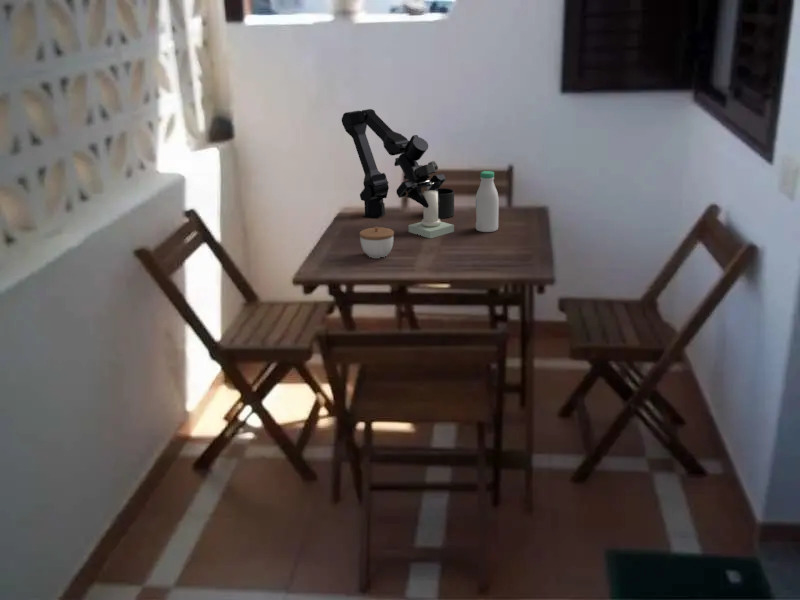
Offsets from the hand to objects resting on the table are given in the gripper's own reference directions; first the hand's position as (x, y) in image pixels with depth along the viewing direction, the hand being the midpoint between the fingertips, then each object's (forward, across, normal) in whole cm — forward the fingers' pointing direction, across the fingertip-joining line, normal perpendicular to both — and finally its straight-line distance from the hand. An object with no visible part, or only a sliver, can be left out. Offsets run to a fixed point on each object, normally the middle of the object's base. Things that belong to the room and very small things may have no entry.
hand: (433, 205), depth 294 cm
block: (+6, 0, +8) cm, 10 cm away
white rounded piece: (+4, 0, +6) cm, 7 cm away
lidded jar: (+11, -30, +3) cm, 32 cm away
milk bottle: (+14, +15, 0) cm, 21 cm away
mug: (-4, +16, +18) cm, 25 cm away
